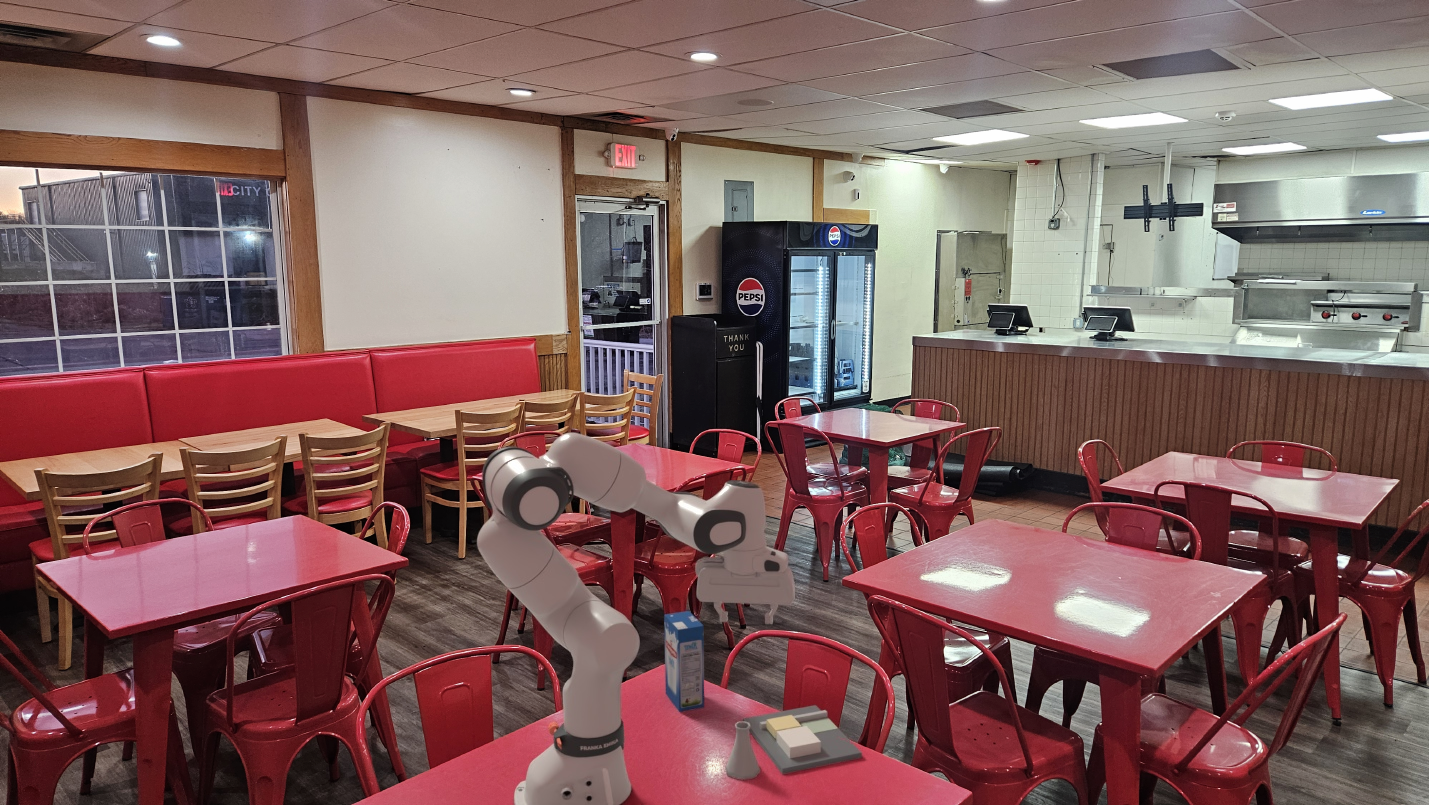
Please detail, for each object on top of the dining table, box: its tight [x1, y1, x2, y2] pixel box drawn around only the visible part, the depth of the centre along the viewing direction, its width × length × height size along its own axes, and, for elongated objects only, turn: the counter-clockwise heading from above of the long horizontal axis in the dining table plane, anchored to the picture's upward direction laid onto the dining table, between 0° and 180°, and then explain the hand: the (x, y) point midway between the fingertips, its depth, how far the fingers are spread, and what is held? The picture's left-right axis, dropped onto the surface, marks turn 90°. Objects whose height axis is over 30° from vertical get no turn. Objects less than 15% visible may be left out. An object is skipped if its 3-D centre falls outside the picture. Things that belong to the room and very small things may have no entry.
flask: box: [725, 720, 762, 780], centre depth 185 cm, size 7×7×10 cm
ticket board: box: [742, 704, 863, 775], centre depth 197 cm, size 18×22×4 cm
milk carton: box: [663, 610, 705, 713], centre depth 214 cm, size 10×6×20 cm, turn 22°
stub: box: [767, 715, 801, 739], centre depth 198 cm, size 6×5×2 cm
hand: (746, 622), depth 188 cm, fingers open, 8 cm apart
